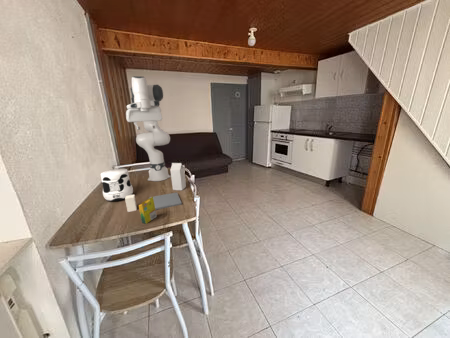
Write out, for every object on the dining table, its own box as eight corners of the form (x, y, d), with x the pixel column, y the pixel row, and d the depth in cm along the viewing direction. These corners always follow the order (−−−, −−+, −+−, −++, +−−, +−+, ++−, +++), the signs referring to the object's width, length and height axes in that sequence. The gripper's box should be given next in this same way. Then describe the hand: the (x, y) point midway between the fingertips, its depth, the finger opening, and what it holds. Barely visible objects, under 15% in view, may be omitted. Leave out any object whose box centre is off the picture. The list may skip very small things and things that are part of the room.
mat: (148, 198, 121) (148, 197, 120) (177, 193, 127) (177, 192, 127) (149, 211, 105) (148, 209, 104) (181, 204, 111) (181, 202, 111)
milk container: (124, 190, 137) (119, 167, 132) (139, 195, 128) (134, 169, 123) (99, 200, 123) (92, 173, 118) (114, 205, 114) (107, 177, 109)
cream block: (128, 208, 109) (125, 195, 107) (136, 206, 111) (134, 194, 108) (127, 212, 105) (124, 198, 103) (136, 210, 107) (133, 197, 104)
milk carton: (182, 190, 132) (179, 164, 127) (172, 190, 134) (169, 164, 128) (186, 186, 139) (183, 161, 134) (177, 186, 140) (174, 161, 135)
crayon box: (152, 215, 100) (149, 195, 96) (157, 216, 98) (153, 196, 95) (141, 223, 93) (137, 201, 90) (145, 224, 92) (141, 202, 89)
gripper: (158, 105, 121) (161, 127, 125) (123, 106, 109) (127, 130, 113) (161, 105, 116) (164, 127, 120) (125, 105, 104) (130, 130, 108)
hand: (146, 129), depth 116 cm, fingers open, 8 cm apart
